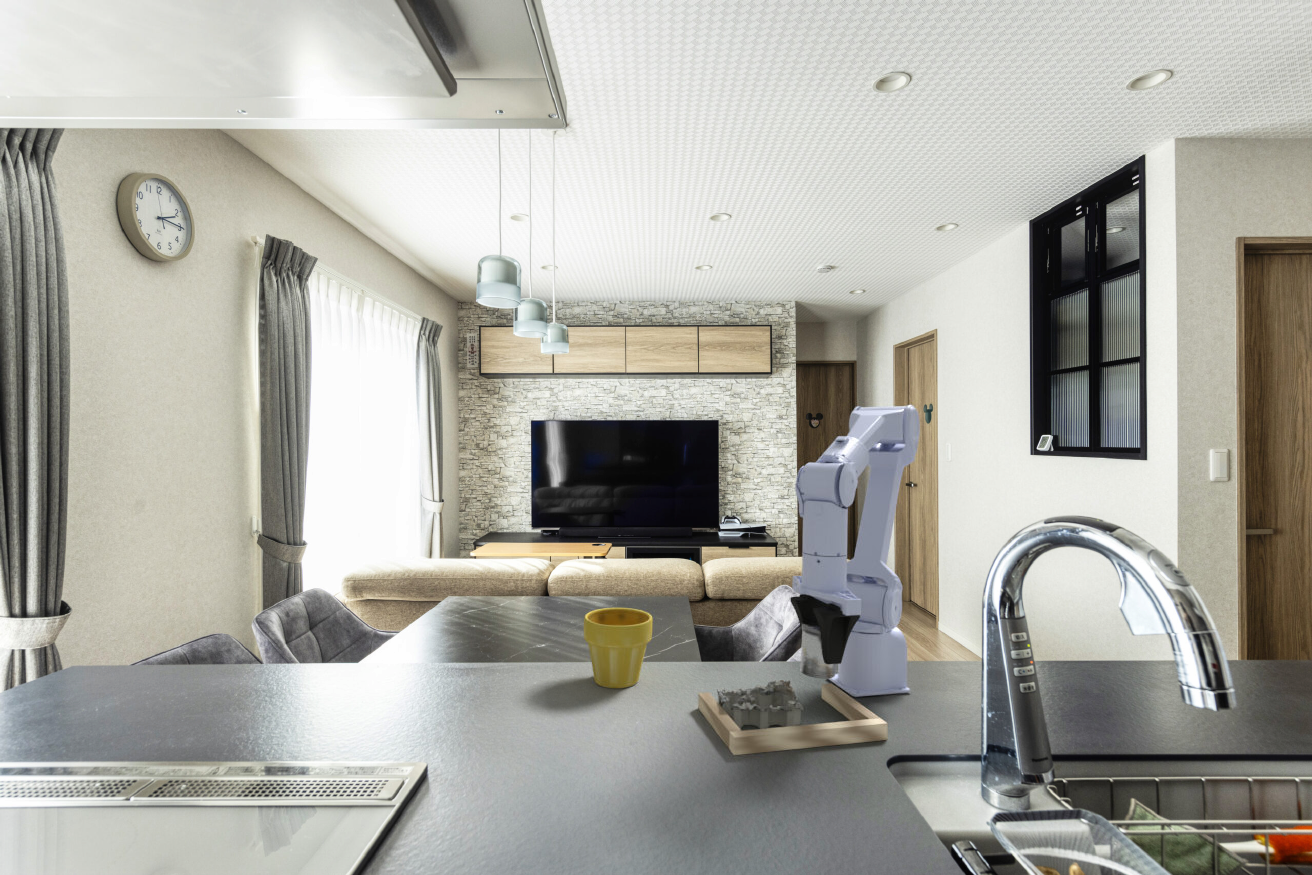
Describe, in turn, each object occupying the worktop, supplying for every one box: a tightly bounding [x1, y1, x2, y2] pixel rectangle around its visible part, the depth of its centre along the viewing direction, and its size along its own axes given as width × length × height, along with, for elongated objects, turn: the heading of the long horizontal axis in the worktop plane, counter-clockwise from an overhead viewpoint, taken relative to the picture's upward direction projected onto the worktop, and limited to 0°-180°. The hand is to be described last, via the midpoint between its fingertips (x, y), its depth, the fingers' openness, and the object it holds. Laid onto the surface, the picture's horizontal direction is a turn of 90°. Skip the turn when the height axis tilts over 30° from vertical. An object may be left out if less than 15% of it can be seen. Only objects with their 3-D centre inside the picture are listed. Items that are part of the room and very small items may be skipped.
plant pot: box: [583, 607, 653, 689], centre depth 95 cm, size 10×10×10 cm
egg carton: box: [716, 680, 804, 730], centre depth 83 cm, size 11×8×4 cm
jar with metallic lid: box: [799, 621, 836, 680], centre depth 82 cm, size 5×5×6 cm
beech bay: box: [697, 682, 889, 756], centre depth 81 cm, size 20×14×2 cm
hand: (822, 656), depth 83 cm, fingers closed on jar with metallic lid, 4 cm apart
